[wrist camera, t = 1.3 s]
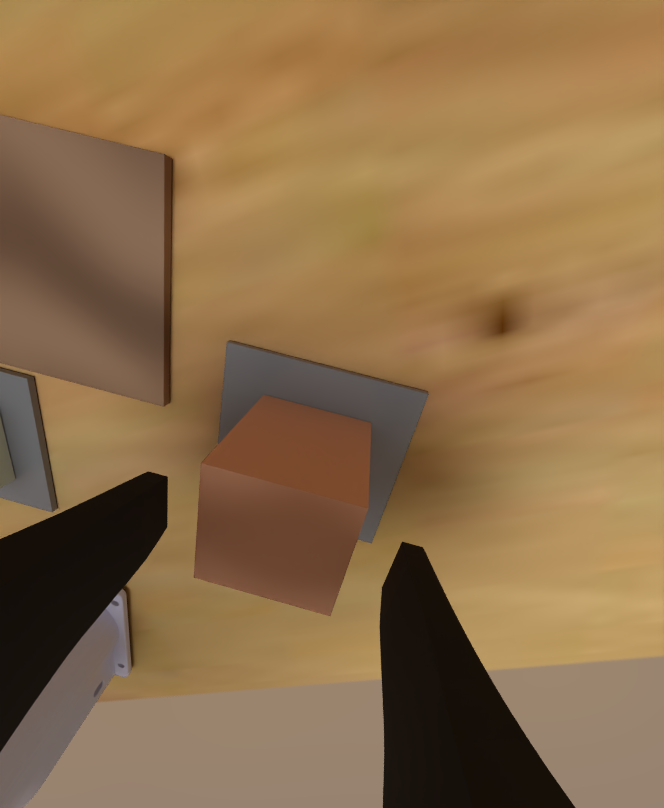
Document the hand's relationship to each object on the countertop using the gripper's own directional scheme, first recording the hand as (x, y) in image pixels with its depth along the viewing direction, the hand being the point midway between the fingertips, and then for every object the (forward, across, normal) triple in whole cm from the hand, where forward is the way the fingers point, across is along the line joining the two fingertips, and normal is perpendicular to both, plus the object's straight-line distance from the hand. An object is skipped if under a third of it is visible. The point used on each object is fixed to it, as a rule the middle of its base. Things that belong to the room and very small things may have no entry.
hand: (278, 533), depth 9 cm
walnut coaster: (+5, +11, -5) cm, 13 cm away
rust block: (+4, 0, 0) cm, 5 cm away
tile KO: (+5, 0, 0) cm, 5 cm away
